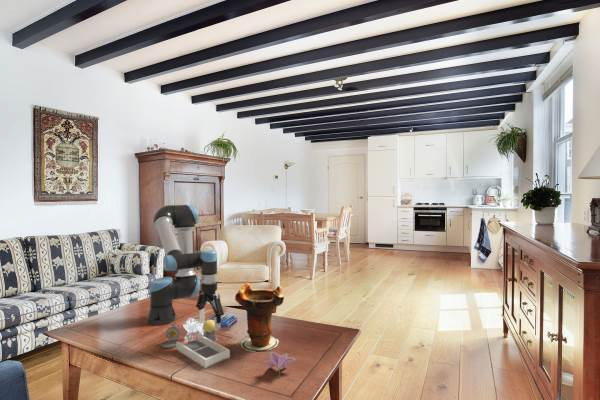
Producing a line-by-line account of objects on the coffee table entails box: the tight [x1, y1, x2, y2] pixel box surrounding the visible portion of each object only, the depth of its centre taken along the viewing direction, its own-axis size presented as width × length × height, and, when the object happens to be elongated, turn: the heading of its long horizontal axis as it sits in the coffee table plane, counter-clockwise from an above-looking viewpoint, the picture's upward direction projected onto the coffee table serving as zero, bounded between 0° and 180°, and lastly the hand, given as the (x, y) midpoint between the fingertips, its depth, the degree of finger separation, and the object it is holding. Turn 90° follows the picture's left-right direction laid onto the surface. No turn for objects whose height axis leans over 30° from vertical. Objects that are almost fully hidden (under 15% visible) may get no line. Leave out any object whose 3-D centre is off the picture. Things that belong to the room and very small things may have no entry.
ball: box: [202, 319, 215, 333], centre depth 163 cm, size 6×6×6 cm
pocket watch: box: [161, 322, 181, 349], centre depth 158 cm, size 8×8×10 cm
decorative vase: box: [234, 282, 285, 353], centre depth 159 cm, size 21×23×28 cm
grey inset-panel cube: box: [203, 330, 216, 341], centre depth 163 cm, size 4×4×4 cm
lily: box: [263, 351, 297, 378], centre depth 132 cm, size 12×12×10 cm
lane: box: [175, 333, 231, 369], centre depth 149 cm, size 24×12×4 cm, turn 48°
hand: (209, 326), depth 162 cm, fingers open, 13 cm apart
